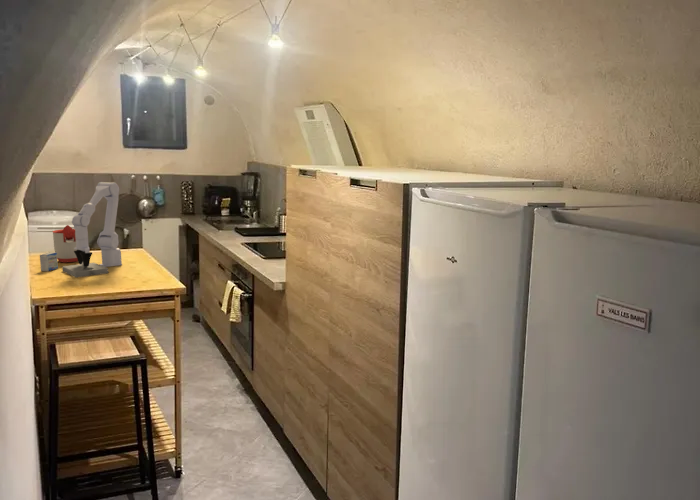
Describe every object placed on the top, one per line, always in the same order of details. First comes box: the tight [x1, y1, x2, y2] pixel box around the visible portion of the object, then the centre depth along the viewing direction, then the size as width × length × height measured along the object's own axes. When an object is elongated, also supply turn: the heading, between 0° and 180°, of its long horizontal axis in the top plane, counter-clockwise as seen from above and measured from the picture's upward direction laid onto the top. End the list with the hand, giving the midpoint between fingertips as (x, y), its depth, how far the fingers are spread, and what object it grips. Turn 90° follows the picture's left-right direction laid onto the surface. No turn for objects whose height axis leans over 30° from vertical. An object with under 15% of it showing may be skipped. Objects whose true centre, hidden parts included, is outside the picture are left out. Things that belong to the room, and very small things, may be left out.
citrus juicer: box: [52, 224, 78, 264], centre depth 360 cm, size 16×17×20 cm
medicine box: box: [39, 251, 59, 272], centre depth 337 cm, size 8×4×9 cm, turn 168°
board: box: [61, 262, 109, 278], centre depth 331 cm, size 16×20×2 cm
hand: (83, 265), depth 332 cm, fingers open, 7 cm apart
